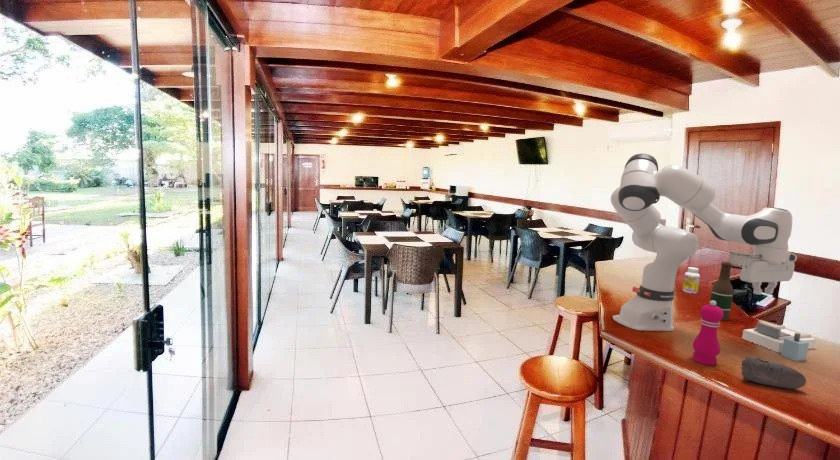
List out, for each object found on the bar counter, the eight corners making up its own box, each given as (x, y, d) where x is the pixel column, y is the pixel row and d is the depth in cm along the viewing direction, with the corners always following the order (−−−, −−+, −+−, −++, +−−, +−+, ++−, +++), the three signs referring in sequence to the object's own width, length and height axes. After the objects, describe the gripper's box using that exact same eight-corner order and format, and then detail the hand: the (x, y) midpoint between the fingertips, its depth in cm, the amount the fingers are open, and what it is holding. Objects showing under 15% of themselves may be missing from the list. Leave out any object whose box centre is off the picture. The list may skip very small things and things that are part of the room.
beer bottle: (733, 321, 170) (742, 265, 166) (712, 319, 171) (721, 263, 168) (723, 315, 177) (732, 261, 174) (703, 313, 179) (711, 259, 175)
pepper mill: (706, 356, 135) (716, 297, 132) (723, 366, 127) (733, 304, 125) (685, 355, 134) (694, 296, 131) (701, 365, 127) (710, 303, 124)
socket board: (777, 352, 140) (780, 340, 139) (742, 338, 151) (743, 326, 151) (814, 348, 145) (816, 336, 144) (776, 335, 156) (778, 324, 156)
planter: (749, 270, 276) (752, 255, 274) (726, 267, 284) (729, 252, 283) (751, 267, 285) (754, 253, 283) (729, 264, 293) (731, 250, 292)
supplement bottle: (679, 290, 216) (682, 266, 214) (688, 289, 218) (692, 266, 216) (690, 294, 209) (694, 269, 207) (700, 293, 211) (704, 269, 209)
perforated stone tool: (800, 388, 116) (805, 365, 115) (807, 396, 111) (812, 372, 110) (735, 374, 123) (739, 352, 122) (739, 381, 118) (743, 359, 117)
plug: (796, 361, 134) (800, 336, 133) (781, 355, 138) (785, 331, 137) (805, 360, 135) (810, 335, 134) (790, 354, 139) (794, 330, 138)
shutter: (776, 338, 143) (778, 329, 142) (756, 331, 149) (757, 322, 149) (790, 337, 145) (792, 328, 144) (769, 329, 151) (771, 321, 151)
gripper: (757, 257, 134) (750, 297, 136) (800, 256, 140) (793, 295, 142) (737, 253, 140) (731, 292, 142) (780, 252, 146) (773, 290, 148)
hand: (762, 293), depth 142 cm, fingers open, 4 cm apart
